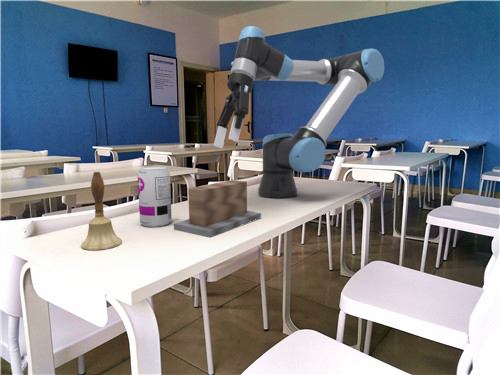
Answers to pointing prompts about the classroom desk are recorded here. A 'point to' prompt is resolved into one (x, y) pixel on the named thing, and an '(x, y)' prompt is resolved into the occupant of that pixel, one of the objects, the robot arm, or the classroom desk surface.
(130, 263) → the classroom desk surface
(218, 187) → the stand
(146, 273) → the classroom desk surface
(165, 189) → the supplement can
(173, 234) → the classroom desk surface
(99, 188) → the hand bell
